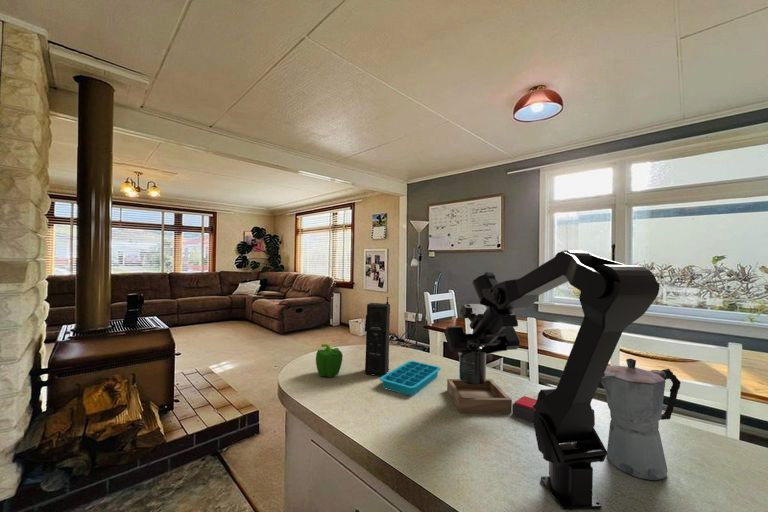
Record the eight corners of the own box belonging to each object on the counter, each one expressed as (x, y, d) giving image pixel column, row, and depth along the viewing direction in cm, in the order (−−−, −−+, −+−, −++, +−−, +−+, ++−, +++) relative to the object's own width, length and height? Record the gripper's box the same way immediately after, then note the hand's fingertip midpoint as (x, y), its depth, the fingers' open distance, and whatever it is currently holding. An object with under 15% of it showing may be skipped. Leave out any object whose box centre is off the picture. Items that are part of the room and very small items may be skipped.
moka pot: (580, 449, 63) (582, 351, 63) (651, 448, 64) (653, 351, 64) (618, 484, 54) (621, 368, 54) (701, 481, 55) (703, 367, 55)
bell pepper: (345, 371, 104) (345, 341, 104) (337, 380, 96) (338, 348, 96) (320, 369, 105) (321, 339, 105) (311, 378, 97) (312, 346, 97)
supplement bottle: (469, 374, 88) (470, 331, 89) (491, 381, 83) (491, 336, 83) (453, 379, 84) (454, 334, 84) (475, 387, 79) (475, 340, 79)
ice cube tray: (441, 376, 102) (442, 367, 102) (412, 399, 85) (413, 388, 85) (410, 368, 108) (410, 360, 108) (377, 388, 91) (377, 378, 91)
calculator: (529, 389, 85) (594, 406, 74) (530, 405, 84) (595, 424, 74) (511, 401, 77) (580, 422, 66) (511, 418, 77) (581, 443, 66)
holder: (511, 413, 78) (511, 399, 78) (460, 412, 77) (460, 399, 77) (491, 390, 91) (491, 379, 91) (447, 390, 90) (447, 378, 90)
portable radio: (361, 374, 101) (362, 297, 101) (367, 368, 107) (369, 295, 107) (384, 377, 99) (386, 298, 99) (389, 370, 105) (391, 296, 105)
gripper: (514, 294, 82) (490, 327, 93) (447, 294, 78) (431, 329, 89) (534, 331, 74) (506, 363, 85) (461, 333, 70) (441, 366, 81)
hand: (470, 354), depth 85 cm, fingers closed on supplement bottle, 6 cm apart
